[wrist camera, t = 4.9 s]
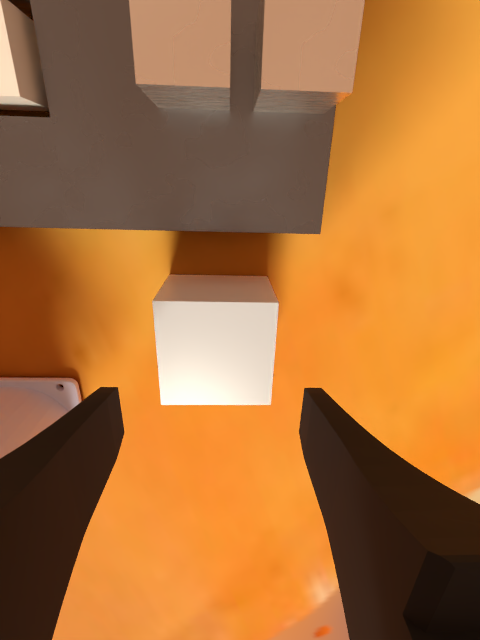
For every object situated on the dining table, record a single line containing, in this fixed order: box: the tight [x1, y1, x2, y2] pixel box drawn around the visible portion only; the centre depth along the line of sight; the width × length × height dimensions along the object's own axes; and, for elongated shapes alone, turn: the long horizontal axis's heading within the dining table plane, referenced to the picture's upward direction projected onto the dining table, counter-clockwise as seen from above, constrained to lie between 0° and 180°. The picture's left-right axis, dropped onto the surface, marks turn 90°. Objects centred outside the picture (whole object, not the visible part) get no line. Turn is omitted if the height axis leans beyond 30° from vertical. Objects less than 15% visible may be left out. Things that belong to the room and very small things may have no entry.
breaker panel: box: [0, 0, 365, 234], centre depth 12 cm, size 20×13×6 cm, turn 88°
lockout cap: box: [152, 274, 279, 405], centre depth 17 cm, size 6×6×4 cm
